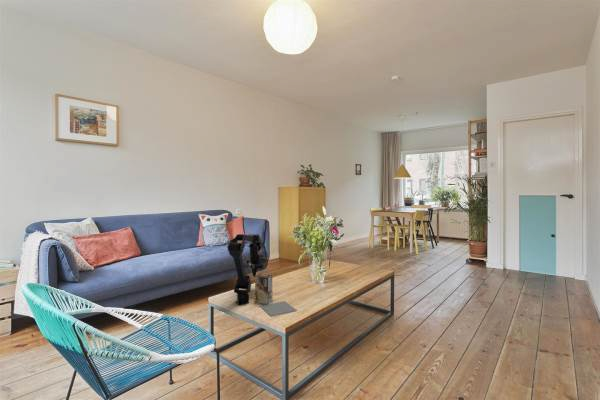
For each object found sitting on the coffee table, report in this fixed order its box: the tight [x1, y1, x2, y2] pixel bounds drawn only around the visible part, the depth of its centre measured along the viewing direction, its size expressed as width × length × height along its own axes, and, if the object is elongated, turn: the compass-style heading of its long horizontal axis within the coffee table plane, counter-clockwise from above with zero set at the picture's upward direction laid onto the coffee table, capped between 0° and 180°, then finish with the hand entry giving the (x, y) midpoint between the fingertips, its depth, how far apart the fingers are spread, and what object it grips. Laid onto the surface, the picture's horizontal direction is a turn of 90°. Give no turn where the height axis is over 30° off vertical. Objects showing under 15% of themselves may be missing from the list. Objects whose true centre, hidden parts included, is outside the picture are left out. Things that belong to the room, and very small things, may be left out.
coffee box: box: [254, 273, 274, 305], centre depth 184 cm, size 9×6×16 cm
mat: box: [259, 300, 298, 317], centre depth 173 cm, size 16×16×1 cm
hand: (254, 276), depth 199 cm, fingers closed
